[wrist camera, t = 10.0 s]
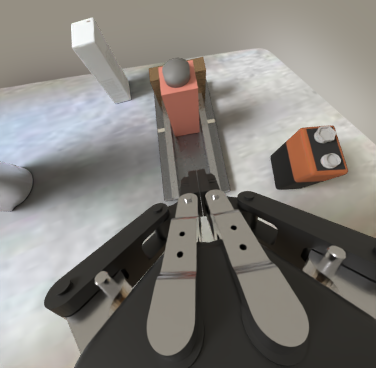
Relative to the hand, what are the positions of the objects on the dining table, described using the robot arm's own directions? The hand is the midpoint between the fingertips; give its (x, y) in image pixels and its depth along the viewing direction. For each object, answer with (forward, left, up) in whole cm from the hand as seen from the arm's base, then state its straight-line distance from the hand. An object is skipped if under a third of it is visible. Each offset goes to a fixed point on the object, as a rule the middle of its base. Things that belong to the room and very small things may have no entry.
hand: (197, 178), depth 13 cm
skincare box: (+18, +27, -15) cm, 36 cm away
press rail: (+12, +7, -14) cm, 20 cm away
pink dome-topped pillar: (+13, +8, -13) cm, 20 cm away
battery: (+11, -13, -15) cm, 22 cm away
